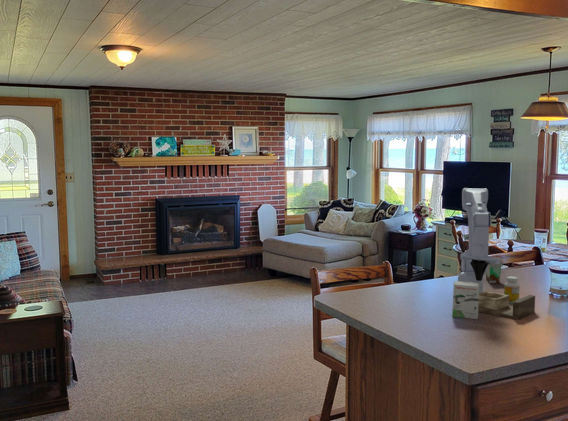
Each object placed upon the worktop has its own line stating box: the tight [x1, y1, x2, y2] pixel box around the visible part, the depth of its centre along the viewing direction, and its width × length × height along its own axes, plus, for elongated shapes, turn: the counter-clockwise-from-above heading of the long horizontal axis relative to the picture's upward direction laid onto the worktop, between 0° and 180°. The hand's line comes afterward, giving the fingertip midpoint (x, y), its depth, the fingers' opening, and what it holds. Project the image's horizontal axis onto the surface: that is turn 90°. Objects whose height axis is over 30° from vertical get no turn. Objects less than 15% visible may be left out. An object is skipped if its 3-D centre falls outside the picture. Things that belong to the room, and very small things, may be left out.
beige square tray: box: [478, 290, 510, 311], centre depth 202 cm, size 9×9×4 cm
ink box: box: [451, 280, 479, 320], centre depth 192 cm, size 9×5×12 cm, turn 73°
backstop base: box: [478, 294, 536, 321], centre depth 200 cm, size 19×14×6 cm
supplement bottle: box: [503, 275, 521, 305], centre depth 211 cm, size 5×5×10 cm
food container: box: [485, 259, 504, 285], centre depth 246 cm, size 12×6×10 cm, turn 168°
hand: (479, 280), depth 205 cm, fingers closed
